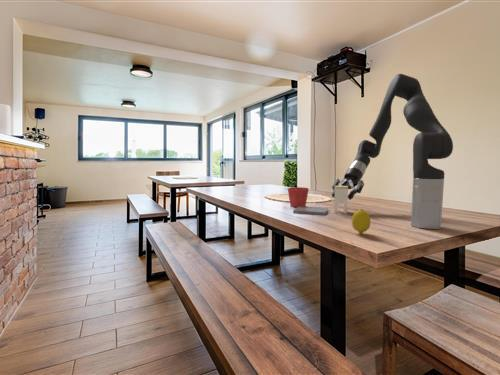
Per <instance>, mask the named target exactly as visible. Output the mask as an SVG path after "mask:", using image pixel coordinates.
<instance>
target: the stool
mask: <svg viewBox="0 0 500 375" xmlns="http://www.w3.org/2000/svg"><path fill="white" fill-rule="evenodd" d="M348 193H349V189H348V186H342V185H341V186H335V198H334V200H333V201H334V203H333V205H334V206H333V209H334V210H333V213H338V210H339V209H338V208H339V205H338V204H343V214H348V200H349V198H348V195H349V194H348Z"/></svg>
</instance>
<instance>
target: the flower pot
mask: <svg viewBox="0 0 500 375" xmlns="http://www.w3.org/2000/svg"><path fill="white" fill-rule="evenodd" d="M309 189H310V188H309V187H301V186H299V187H292V186H291V187H288V188H287V191H288V192H287V193H288V200H289V204H290V207H292V208H297V207H298V206H306V205H307V202H308V201H307V200H308V195H309Z"/></svg>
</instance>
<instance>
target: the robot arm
mask: <svg viewBox="0 0 500 375" xmlns="http://www.w3.org/2000/svg"><path fill="white" fill-rule="evenodd" d="M395 97H398V98H400V99H404V100H405V101H407V102H406V103H405V105H404V107H403V111H402V112H403V115H404V118H405V120H406V123H407V124H408V125H409V126H410V127H411V128H413V129H414V130H416V131H418V132H419V133H418V134H416V135H415V137H414V139H413V142H412V143H413V144H412V145H413V147H412V173H413V174H412V175H413V176H412V178H413V179H412V192H411V194H412V195H411V196H412V197H411V198H412V199H411V210H410V212H411V213H410V214H411V216H410V225H411V226H413V227H415V228H418V229H431V230H440V229H442V219H443V216H442V215H443V202H444V200H443V199H444V188H445V171H444V170H442V169H440V168H437V167H434V166H433V165H431V164H430V163H429V160H441V159H443V160H444V159H446V158H449V157H450V156H451V155H452V154H453V149H454V143H453V139H452V137H451V135H450V133H449V132H448V130H447V129H446V128H445V127H444V126H443V125H442V124H441V123H440V121H439V119H438V118H437V116H436V115H435V113H434V111H433V109H432V107H431V105H430V103H429V102H428V101H427V99H426V97H425V94H424V92H423V90H422V86H421V83H420V81H419V80H418V78H415V77H412V76H410V75H406V74H403V73H398V74H396V75H395V76H394V77H393V78H391V81H390V83H389V85H388V87H387V90H386V93H385V96H384V97H383V102H382V104H381V106H380V110H379V111H378V112H379V113H378V115H377V118H376V120H375V122H374V123H373V125H372V127H371V129H370V131H369V134H368V136H369V137H370V138H372V139H374V141H375V142H376V143H374V142H372V141H370V140H367V139H364V140H362V141H360V143H359V144H358V148H357V153H356V156H355V157H354V160H353V162H351V164H350V165H349V167H348V168H347V170H346V172H345V173H344V176H343V179H339V178H336V180H335V181H334V182H333V184H332V186H331V188H332V190H333V191H332V192H331V196H332V198H335V186H348V190H350V191H349V192H348V193H349V194H348V200H350V201H351V200H352V199H353V198H354V196H355V195H356V194H360V193H361V192H362V190H363V189H364V186H365V183H364V180H362V178H363V176H364V175H365V173H366V170H367V168H368V166H369V165H370V163H371V159H375V158H377V157H378V156H379V155H380V152H381V148H382V143H383V141H384V138H385V136H386V134H387V132H388V131H389V129H390V127H391V124H392V103H393V101H394V99H395Z"/></svg>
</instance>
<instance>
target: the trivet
mask: <svg viewBox="0 0 500 375" xmlns="http://www.w3.org/2000/svg"><path fill="white" fill-rule="evenodd" d="M328 211H329V208H328V207H321V206H298V207H295V208H294V209H293V212H292V213H293V214H303V215H315V216H316V215H318V216H325V215H326V214H327V212H328Z"/></svg>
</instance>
